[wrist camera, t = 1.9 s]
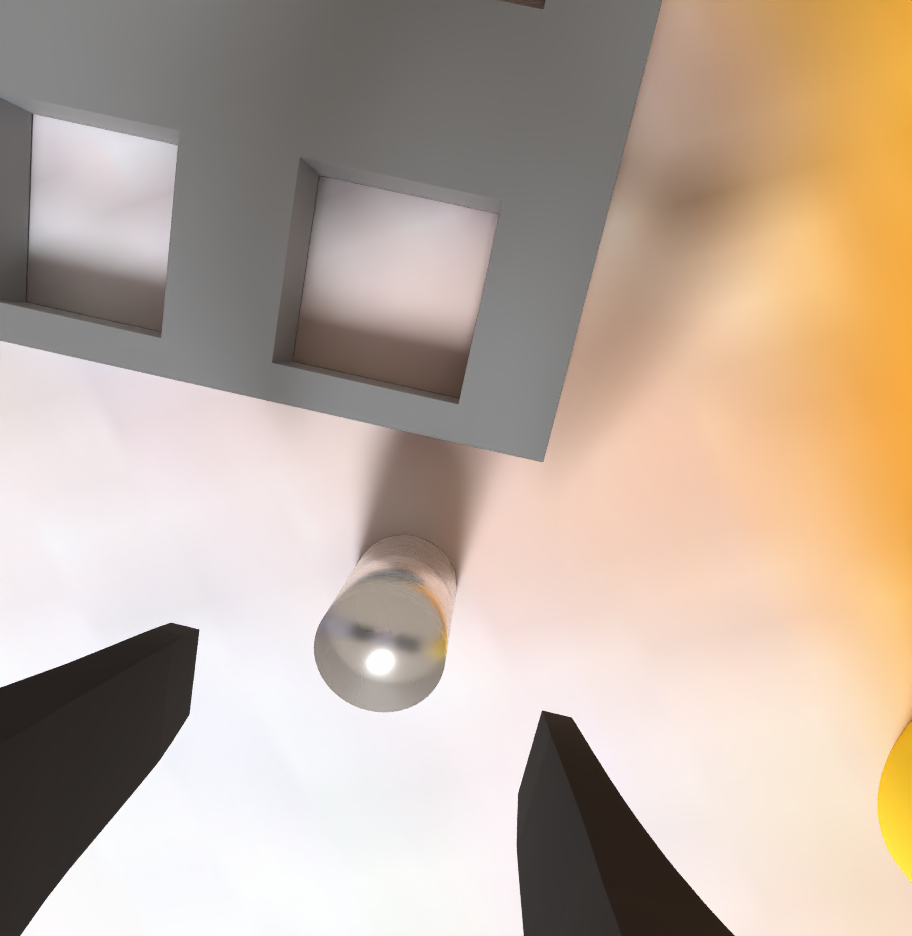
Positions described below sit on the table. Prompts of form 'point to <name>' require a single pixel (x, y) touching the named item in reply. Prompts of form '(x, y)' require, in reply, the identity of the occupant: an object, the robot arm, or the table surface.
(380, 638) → the loose pin
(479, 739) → the table surface
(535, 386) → the hole board
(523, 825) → the robot arm
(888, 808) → the tape roll
